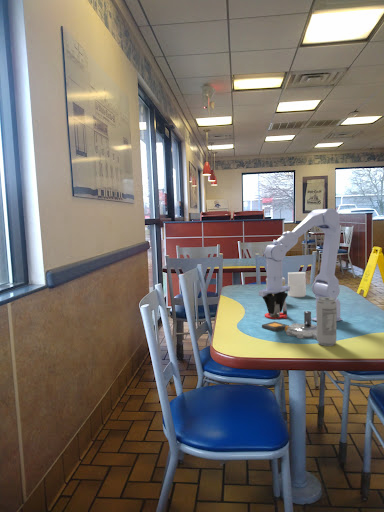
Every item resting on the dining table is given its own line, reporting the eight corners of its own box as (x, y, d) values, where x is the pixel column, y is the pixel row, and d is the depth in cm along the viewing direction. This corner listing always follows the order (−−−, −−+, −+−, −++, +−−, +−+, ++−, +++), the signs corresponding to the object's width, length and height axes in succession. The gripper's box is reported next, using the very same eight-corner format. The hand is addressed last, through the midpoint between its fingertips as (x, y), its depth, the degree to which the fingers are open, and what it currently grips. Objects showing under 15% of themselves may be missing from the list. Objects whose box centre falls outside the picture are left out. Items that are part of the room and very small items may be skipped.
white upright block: (304, 293, 199) (304, 271, 198) (307, 297, 190) (307, 274, 189) (287, 293, 200) (287, 271, 199) (289, 297, 191) (289, 274, 190)
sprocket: (328, 329, 135) (328, 312, 134) (321, 341, 123) (321, 322, 123) (290, 325, 142) (290, 308, 141) (280, 335, 130) (280, 317, 129)
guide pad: (274, 323, 145) (274, 321, 144) (288, 327, 139) (288, 325, 139) (261, 327, 141) (261, 324, 141) (275, 331, 135) (275, 328, 135)
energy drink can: (331, 340, 124) (331, 296, 122) (339, 346, 118) (339, 300, 116) (314, 340, 124) (313, 296, 122) (320, 347, 118) (320, 300, 116)
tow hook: (264, 320, 152) (287, 319, 150) (262, 289, 151) (285, 288, 149) (265, 314, 161) (286, 314, 158) (263, 285, 160) (285, 284, 157)
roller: (274, 314, 142) (274, 302, 141) (281, 316, 139) (281, 303, 138) (268, 316, 140) (267, 303, 139) (275, 318, 137) (274, 305, 136)
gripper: (268, 280, 130) (268, 318, 132) (296, 275, 138) (296, 311, 140) (254, 278, 136) (255, 314, 138) (281, 273, 144) (282, 307, 146)
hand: (274, 312), depth 139 cm, fingers closed on roller, 4 cm apart
